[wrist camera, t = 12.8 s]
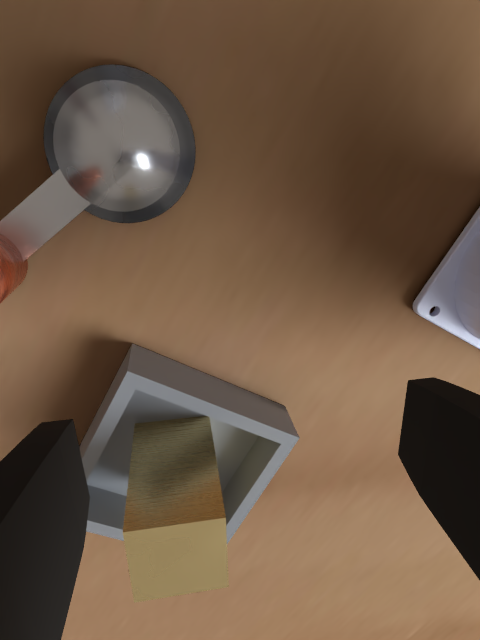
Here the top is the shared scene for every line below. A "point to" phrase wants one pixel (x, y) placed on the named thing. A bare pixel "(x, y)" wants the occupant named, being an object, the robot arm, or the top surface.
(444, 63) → the top surface
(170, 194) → the bearing
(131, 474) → the block
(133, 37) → the top surface
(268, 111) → the top surface
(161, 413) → the tray
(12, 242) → the crank
